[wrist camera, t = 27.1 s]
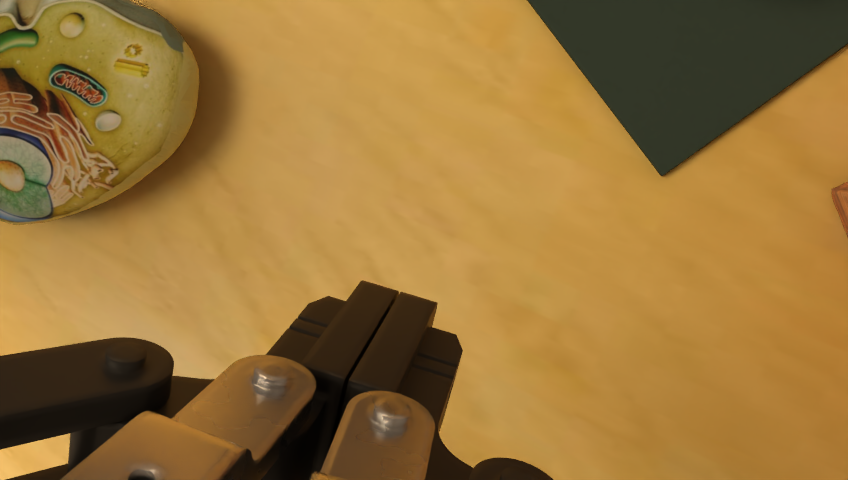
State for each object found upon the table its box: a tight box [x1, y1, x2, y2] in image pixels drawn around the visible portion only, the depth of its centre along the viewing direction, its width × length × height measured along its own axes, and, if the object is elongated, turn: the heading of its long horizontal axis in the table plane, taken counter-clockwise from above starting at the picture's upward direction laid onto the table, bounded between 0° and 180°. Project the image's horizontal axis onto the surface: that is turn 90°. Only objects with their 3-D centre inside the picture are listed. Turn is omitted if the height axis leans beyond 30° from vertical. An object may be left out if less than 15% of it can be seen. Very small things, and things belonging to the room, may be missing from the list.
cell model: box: [0, 0, 199, 225], centre depth 38 cm, size 11×8×15 cm
